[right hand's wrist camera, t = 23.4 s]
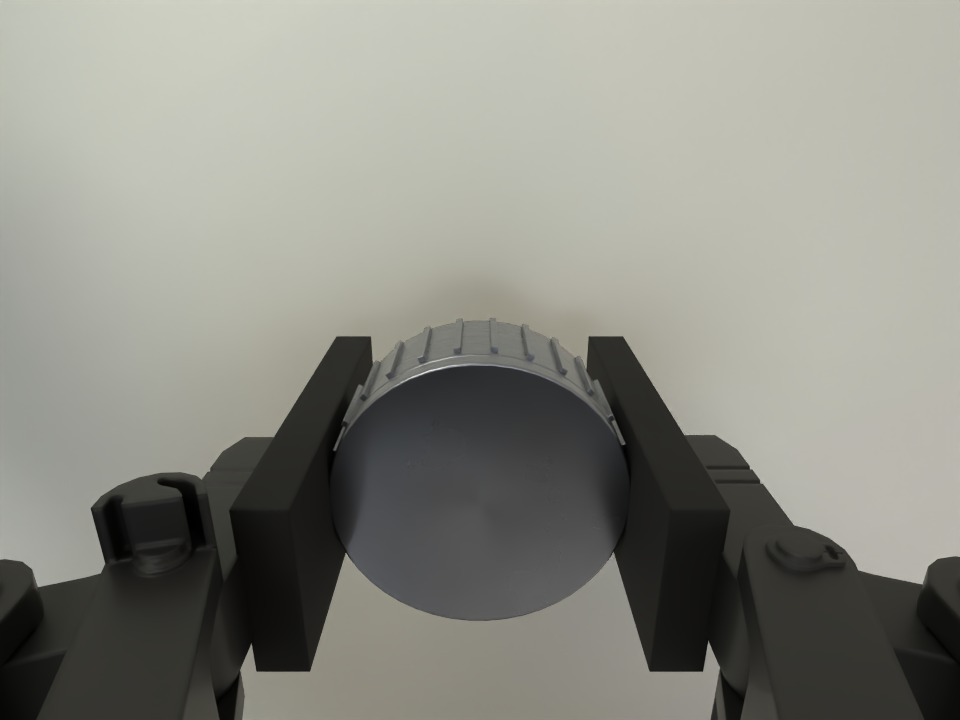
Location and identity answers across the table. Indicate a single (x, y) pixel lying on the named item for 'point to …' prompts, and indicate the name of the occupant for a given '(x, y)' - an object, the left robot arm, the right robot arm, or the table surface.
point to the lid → (479, 473)
